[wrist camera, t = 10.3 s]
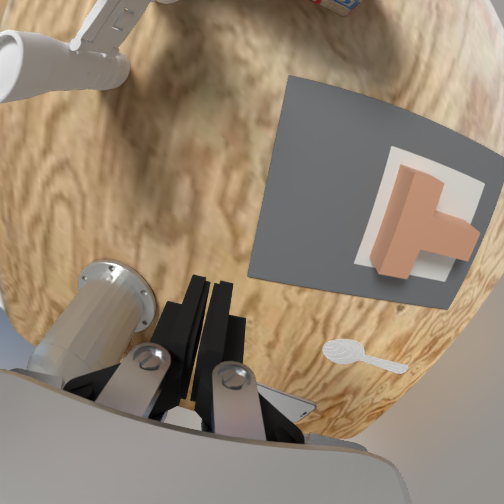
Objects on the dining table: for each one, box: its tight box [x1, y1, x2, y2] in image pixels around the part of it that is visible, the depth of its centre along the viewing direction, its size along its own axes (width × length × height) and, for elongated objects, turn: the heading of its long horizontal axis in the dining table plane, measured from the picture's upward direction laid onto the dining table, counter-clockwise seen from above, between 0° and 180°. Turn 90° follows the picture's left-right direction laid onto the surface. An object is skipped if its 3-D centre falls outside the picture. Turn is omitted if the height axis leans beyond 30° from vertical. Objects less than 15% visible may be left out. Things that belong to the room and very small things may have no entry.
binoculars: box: [0, 0, 179, 103], centre depth 17 cm, size 17×5×18 cm, turn 144°
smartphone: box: [256, 382, 316, 422], centre depth 51 cm, size 7×1×15 cm
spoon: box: [322, 339, 408, 373], centre depth 45 cm, size 5×18×1 cm, turn 66°
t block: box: [370, 164, 480, 279], centre depth 32 cm, size 12×12×4 cm
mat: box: [247, 75, 504, 309], centre depth 34 cm, size 24×31×1 cm
